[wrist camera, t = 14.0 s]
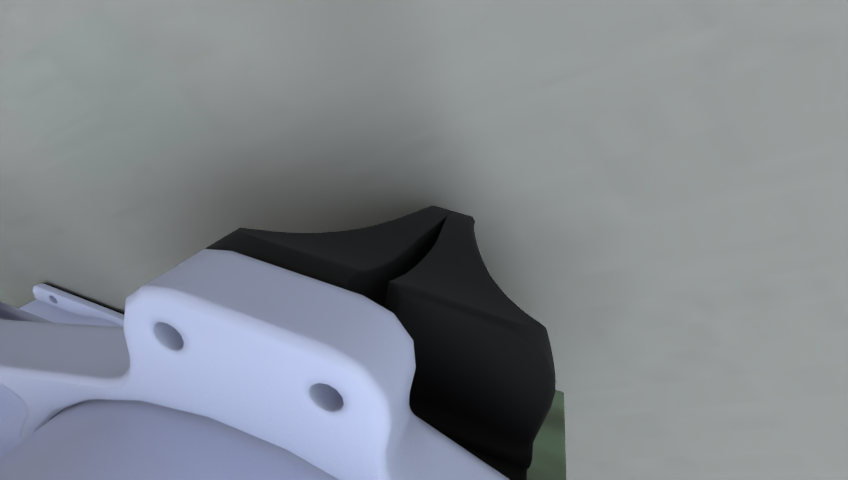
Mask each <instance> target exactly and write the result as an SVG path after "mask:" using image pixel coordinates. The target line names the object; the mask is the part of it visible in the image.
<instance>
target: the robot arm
mask: <svg viewBox="0 0 848 480" xmlns="http://www.w3.org/2000/svg"><path fill="white" fill-rule="evenodd" d="M474 223H475V221H474V219H473V217H471V216H467V215H464V214H461V213H457V212H454V211H450V210H447V209H444V208H440V207H437V206H430V207H427V208H425V209H422V210H419V211H417V212H414V213H412V214H409V215H406V216H404V217H401V218H398V219H395V220H392V221H388V222H385V223H382V224H378V225H375V226H370V227H366V228H360V229H355V230H348V231H338V232H325V233H286V232H273V231H264V230H255V229H246V228H239V229H237V230H235V231H234V232H232V233H230V234H229V235H227V236H225V237H224V238H222V239H220V240H219V241H217V242H215V243H214V244H212V245H210V246H209V247H207V248H205V249H203V250H202V251H200V252H198V253H197V254H195V255H193V256H192V257H190V258H188V259H187V260H185V261H183V262H182V263H180V264H178V265H177V266H175V267H173V268H172V269H170V270H168V271H167V272H165V273H163V274H162V275H160V276H158V277H157V278H155V279H154V280H152V281H150V282H149V283H147V284H145V285H144V286H142V287H141V288H139V289H138V290H137V291H135V292H134V293H132V294H131V295H130V296H128V297H127V298H126V301H125V313H124V314H121V313H118V312H116V311H113V310H111V309H108V308H105V307H103V306H100V305H98V304H95V303H93V302H90V301H87V300H85V299H82V298H80V297H77V296H74V295H72V294H69V293H67V292H64V291H62V290H59V289H56V288H54V287H51V286H49V285H46V284H42V283H40V284H38V285H36V286H34V287H33V293H34V296H35V299H36V300H34V301H32V302H30V303H28V304H26V305H24V306H22V307H20V308H16V307H13V306H11V305H8V304H6V303H3V302H1V301H0V480H527V469H529V467H530V465H531V462H532V454H533V442H534V440H535V438H536V436H537V434H538V432H539V430H540V428H541V426H542V424H543V422H544V420H545V418H546V416H547V414H548V412H549V410H550V408H551V405H552V402H553V398H554V395H555V370H554V362H553V356H552V351H551V346H550V342H549V338H548V334H547V330H546V328H545V327H544V326H543V325H542V324H540V323H539V322H537V321H536V320H535V319H533V318H532V317H530V316H529V315H528V314H526V313H525V312H523V311H522V310H521V309H520V308H519V307H518V306H517V305H516V304H514V303H513V302H512V301H511V300H510V299H509V298H508V297H507V296H506V295H505V294H504V293H503V292H502V290H501V289H500V288H499V287H498V285H497V284H496V283H495V282H494V280H493V279H492V277H491V276H490V274H489V273H488V271H487V269H486V267H485V265H484V263H483V260H482V258H481V255H480V252H479V250H478V246H477V242H476V238H475V233H474Z"/></svg>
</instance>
